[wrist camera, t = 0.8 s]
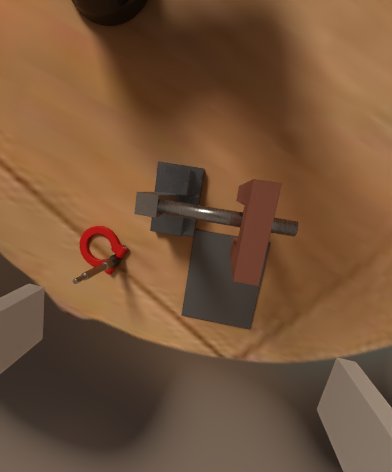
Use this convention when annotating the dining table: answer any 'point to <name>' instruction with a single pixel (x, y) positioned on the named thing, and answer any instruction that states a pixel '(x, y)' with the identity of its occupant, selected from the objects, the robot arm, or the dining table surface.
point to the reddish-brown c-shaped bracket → (253, 230)
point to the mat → (218, 283)
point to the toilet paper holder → (189, 204)
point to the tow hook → (99, 264)
